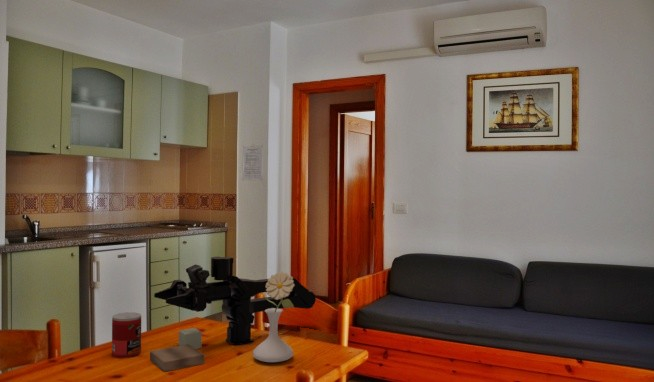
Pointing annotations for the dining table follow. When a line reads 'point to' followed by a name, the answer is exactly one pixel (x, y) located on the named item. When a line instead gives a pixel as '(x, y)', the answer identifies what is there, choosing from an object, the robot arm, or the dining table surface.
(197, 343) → the cube
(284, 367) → the dining table surface
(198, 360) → the base
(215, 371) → the dining table surface
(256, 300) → the robot arm
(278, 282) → the flower in vase
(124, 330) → the canned food
